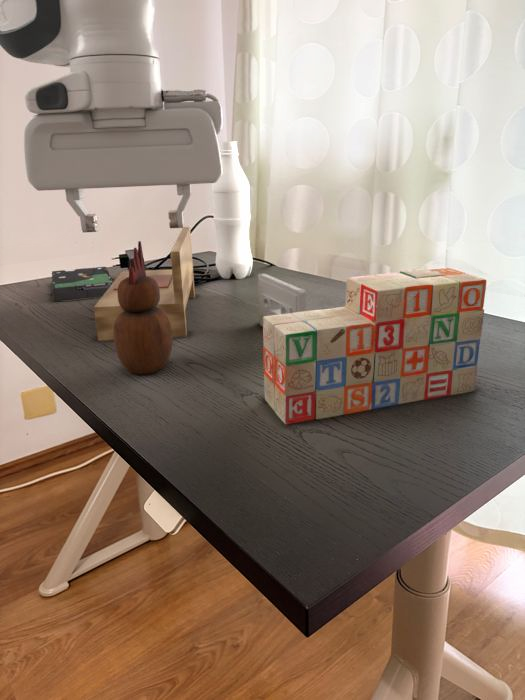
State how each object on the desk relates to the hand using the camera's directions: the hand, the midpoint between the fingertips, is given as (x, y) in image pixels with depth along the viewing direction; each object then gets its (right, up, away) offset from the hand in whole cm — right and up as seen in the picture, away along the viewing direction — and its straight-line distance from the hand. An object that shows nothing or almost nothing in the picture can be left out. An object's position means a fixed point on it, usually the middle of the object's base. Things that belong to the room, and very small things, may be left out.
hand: (134, 229), depth 64 cm
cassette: (+17, -12, +16) cm, 26 cm away
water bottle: (+9, +1, +50) cm, 51 cm away
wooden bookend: (-3, -8, +26) cm, 28 cm away
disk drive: (-19, -2, +43) cm, 47 cm away
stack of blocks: (+25, -18, -3) cm, 32 cm away
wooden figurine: (0, -16, +6) cm, 17 cm away
